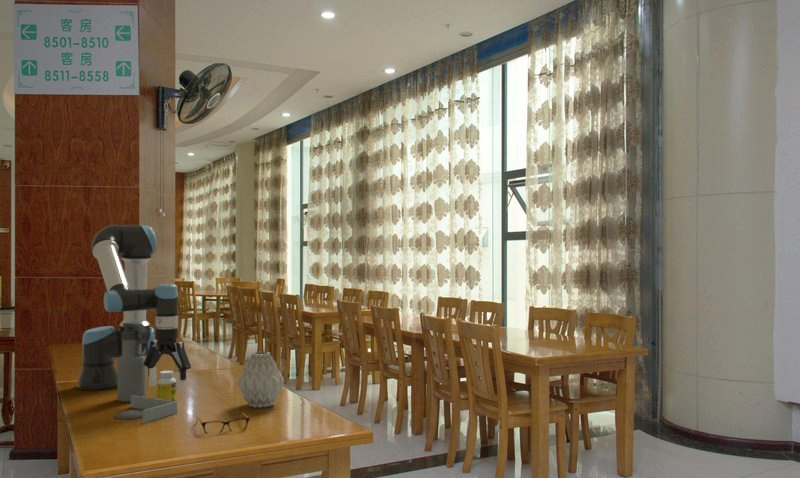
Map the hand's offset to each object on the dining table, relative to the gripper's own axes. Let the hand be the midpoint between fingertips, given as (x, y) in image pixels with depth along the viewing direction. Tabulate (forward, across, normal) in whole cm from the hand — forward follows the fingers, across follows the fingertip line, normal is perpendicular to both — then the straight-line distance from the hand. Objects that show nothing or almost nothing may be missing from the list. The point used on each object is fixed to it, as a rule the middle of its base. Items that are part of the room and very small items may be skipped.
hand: (166, 387), depth 241 cm
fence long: (+6, +1, -8) cm, 10 cm away
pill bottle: (+6, 0, 0) cm, 6 cm away
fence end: (+6, +12, -14) cm, 19 cm away
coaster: (+6, +1, -16) cm, 17 cm away
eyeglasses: (+7, +36, -13) cm, 39 cm away
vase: (+7, +31, +14) cm, 34 cm away
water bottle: (+6, -17, 0) cm, 18 cm away
